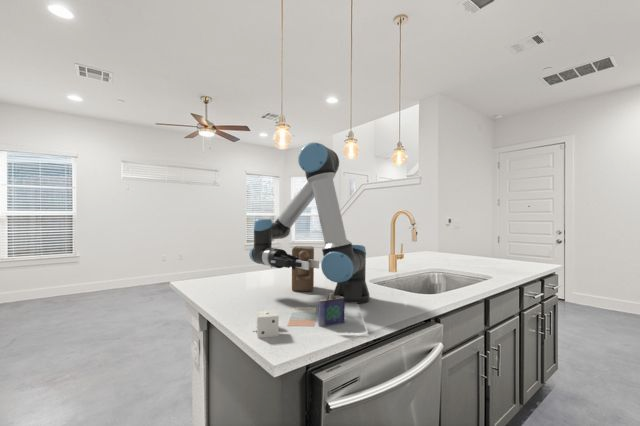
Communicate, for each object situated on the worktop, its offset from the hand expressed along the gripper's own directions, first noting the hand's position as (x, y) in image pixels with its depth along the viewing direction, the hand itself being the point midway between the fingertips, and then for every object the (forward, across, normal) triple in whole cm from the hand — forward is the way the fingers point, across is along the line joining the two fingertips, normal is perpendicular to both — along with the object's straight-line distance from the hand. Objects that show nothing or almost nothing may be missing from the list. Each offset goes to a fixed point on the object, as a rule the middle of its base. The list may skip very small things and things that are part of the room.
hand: (313, 265), depth 105 cm
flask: (+10, +1, -18) cm, 21 cm away
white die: (+2, +20, -18) cm, 27 cm away
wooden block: (-32, -22, -18) cm, 43 cm away
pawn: (-5, 0, -6) cm, 8 cm away
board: (-1, +3, -18) cm, 18 cm away
